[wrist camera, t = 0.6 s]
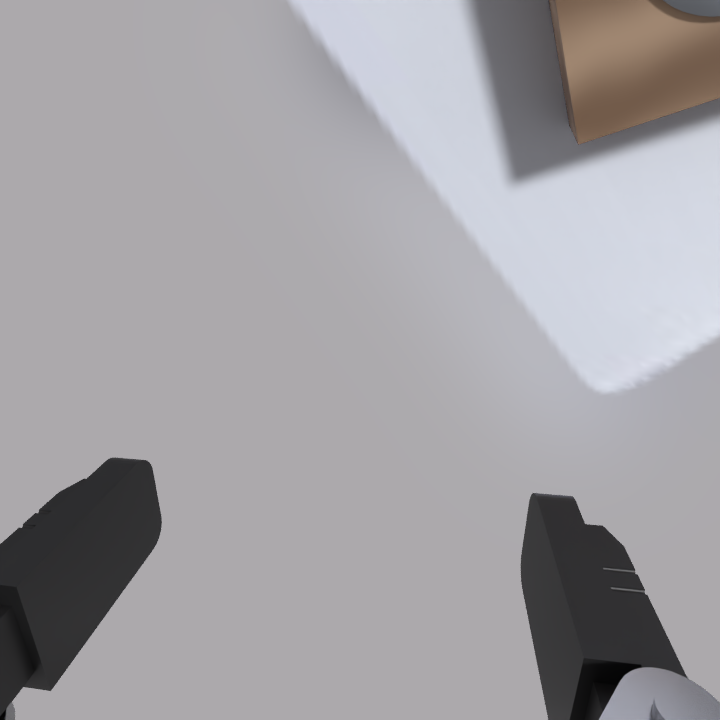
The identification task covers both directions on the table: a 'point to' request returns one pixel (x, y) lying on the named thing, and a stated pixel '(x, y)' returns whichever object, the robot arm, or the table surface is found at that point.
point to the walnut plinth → (634, 60)
